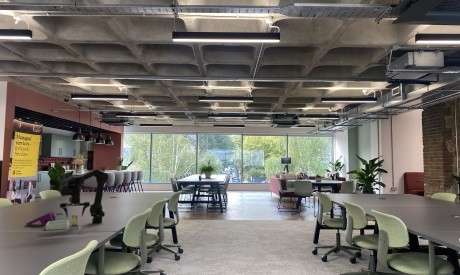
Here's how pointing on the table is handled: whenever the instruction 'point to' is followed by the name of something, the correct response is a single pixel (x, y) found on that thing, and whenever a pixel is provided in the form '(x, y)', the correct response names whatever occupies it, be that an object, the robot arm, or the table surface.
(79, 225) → the socket block
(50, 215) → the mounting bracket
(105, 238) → the table surface
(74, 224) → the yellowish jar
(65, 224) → the bin
